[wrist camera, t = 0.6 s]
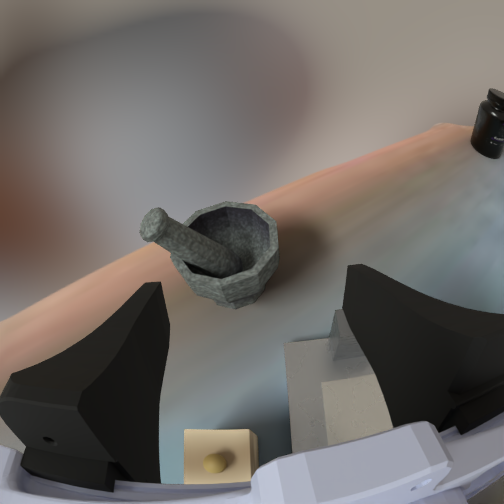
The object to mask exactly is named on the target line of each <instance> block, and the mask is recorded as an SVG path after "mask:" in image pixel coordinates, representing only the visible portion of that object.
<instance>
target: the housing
mask: <svg viewBox="0 0 504 504" xmlns="http://www.w3.org/2000/svg"><path fill="white" fill-rule="evenodd" d="M258 468H259V455H258V436H257V435H256V434H254V433H253V432H252V431H251V430H250V429H236V430H195V429H184V484H220V483H236V482H247V481H251V478H252V476H253V475H254V473H255V472H256V470H257V469H258Z"/></svg>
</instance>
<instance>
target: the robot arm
mask: <svg viewBox="0 0 504 504" xmlns="http://www.w3.org/2000/svg"><path fill="white" fill-rule="evenodd" d="M342 309H343V311H344V314H345V317H346V320H347V322H348V325H349V327H350V329H351V331H352V333H353V335H354V337H355V338H356V340H357V342H358V344H359V346H360V347H361V349H362V351H363V353H364V355H365V356H366V358H367V360H368V362H369V364H370V365H371V367H372V369H373V371H374V373H375V375H376V378H377V380H378V383H379V386H380V388H381V391H382V393H383V396H384V399H385V402H386V405H387V408H388V411H389V415H390V418H391V422H392V425H393V429H389V430H386V431H383V432H380V433H376V434H373V435H369V436H365V437H362V438H358V439H354V440H350V441H346V442H342V443H338V444H333V445H329V446H324V447H319V448H314V449H309V450H303V451H299V452H296V453H292V454H288V455H285V456H281V457H277V458H275V459H274V460H272V461H270V462H268V463H266V464H264V465H262V466H260V467H259V468H258V469H257V470H256V472H255V473H254V475H253V476H252V478H251V481H247V482H236V483H220V484H161V479H160V464H159V403H160V394H161V388H162V382H163V377H164V371H165V366H166V360H167V355H168V349H169V338H170V322H169V318H168V313H167V309H166V304H165V300H164V295H163V290H162V285H161V282H148V283H145V284H143V285H142V286H141V287H140V288H139V289H138V290H137V291H136V292H135V293H134V294H133V295H132V296H131V297H130V298H129V299H128V300H127V301H126V302H125V303H124V304H123V305H122V306H121V307H120V308H119V309H118V310H117V311H116V312H115V313H114V314H113V315H112V316H111V317H109V318H108V319H107V320H106V321H105V322H104V323H103V324H102V325H101V326H99V327H98V328H97V329H96V330H94V331H93V332H92V333H90V334H89V335H88V336H86V337H85V338H83V339H82V340H81V341H79V342H77V343H76V344H74V345H73V346H71V347H69V348H68V349H66V350H64V351H63V352H61V353H59V354H57V355H55V356H53V357H52V358H49V359H47V360H45V361H43V362H41V363H39V364H36V365H34V366H31V367H29V368H26V369H23V370H21V371H18V372H15V373H12V374H11V376H10V378H9V380H8V382H7V384H6V386H5V388H4V390H3V392H2V394H1V396H0V416H1V418H2V419H3V420H4V422H5V423H6V424H7V426H8V427H9V428H10V429H11V430H12V431H13V433H14V434H15V435H16V436H17V437H18V438H19V439H20V440H21V441H22V443H23V444H24V445H25V446H26V448H25V451H24V454H23V453H21V452H19V451H18V450H16V449H13V448H10V447H7V446H4V445H1V444H0V504H468V502H467V500H468V499H470V498H471V497H473V496H475V495H476V494H478V493H479V492H481V491H482V490H484V489H485V488H487V487H488V486H489V485H491V484H492V483H494V482H495V481H497V480H498V479H499V478H501V477H502V476H503V475H504V314H496V313H488V312H482V311H477V310H472V309H467V308H464V307H460V306H456V305H453V304H449V303H446V302H443V301H441V300H438V299H435V298H432V297H430V296H427V295H425V294H423V293H420V292H418V291H416V290H414V289H412V288H410V287H408V286H406V285H404V284H402V283H400V282H398V281H396V280H394V279H392V278H390V277H388V276H386V275H384V274H382V273H380V272H379V271H377V270H375V269H373V268H370V267H368V266H366V265H363V264H356V265H348V268H347V277H346V285H345V293H344V300H343V307H342Z"/></svg>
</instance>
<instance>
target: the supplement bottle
mask: <svg viewBox="0 0 504 504" xmlns="http://www.w3.org/2000/svg"><path fill="white" fill-rule="evenodd" d="M487 99H488V100H485V101H482V102H481V104H480V106H479V110H478V115H477V118H476V122H475V125H474V129H473V132H472V136H471V144H472V146H473V147H474V148H475V149H476V150H477V151H478V152H479V153H481V154H482V155H484V156H487V157H489V158H498V157H499V156H500V155H501V152H502V150H503V147H504V93H503V92H501V91H498V90H496V89H489V92H488V95H487Z"/></svg>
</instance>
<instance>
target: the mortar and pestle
mask: <svg viewBox="0 0 504 504" xmlns="http://www.w3.org/2000/svg"><path fill="white" fill-rule="evenodd" d="M140 235H141V237H142V238H143V240H145V241H147V242H152V241H154V242H155V243H157V244H158V245H160V246H161V247H163V248H164V249H166V250H168V251H169V252H171V256H170V258H171V260H172V262H173V264H174V266H175V267H176V269H177V270H178V271H179V273H180V274H181V275H182V277H183V278H184V280H185V281H186V282H187V284H188V285H189V286H190V288H191V289H192V290H193V291H194V292H195V293H196V294H197V295H198V296H202V297H205V298H210V299H213V300H214V301H215V302H216V304H217V305H220V306H224V307H228V308H233V309H237V308H240V307H243V306H246V305H249V304H252V303H254V302H255V301H256V299H257V298H258V297H259V296H260V294H261V293H262V292H263V290H264V289H265V284H266V282H267V281H268V280H269V278H270V277H271V276H272V274H273V273H274V272H275V271H276V269H277V268H278V263H279V246H278V235H277V224H276V221H275V220H274V219H272V218H271V217H270V216H269V215H268V214H266V213H265V212H264V211H263V210H261V209H260V208H259V207H258V206H257V205H253V204H244V203H236V202H227V201H226V202H223V203H219V204H216V205H213V206H210V207H208V208H204V209H201V210H198V211H196V212H195V213H194V214H193V215H192V216H191V217H190V218H189V219H188V220H187V221H186V222H184V223H183V224H181V223H179V222H177V221H175V220H174V219H172V218H170V217H168V215H167V213H166V212H165V211H164V210H163V209H161V208H155V209H152V210H150V212H148V214H146V215H145V217H144V219H143V221H142V223H141V227H140Z"/></svg>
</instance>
